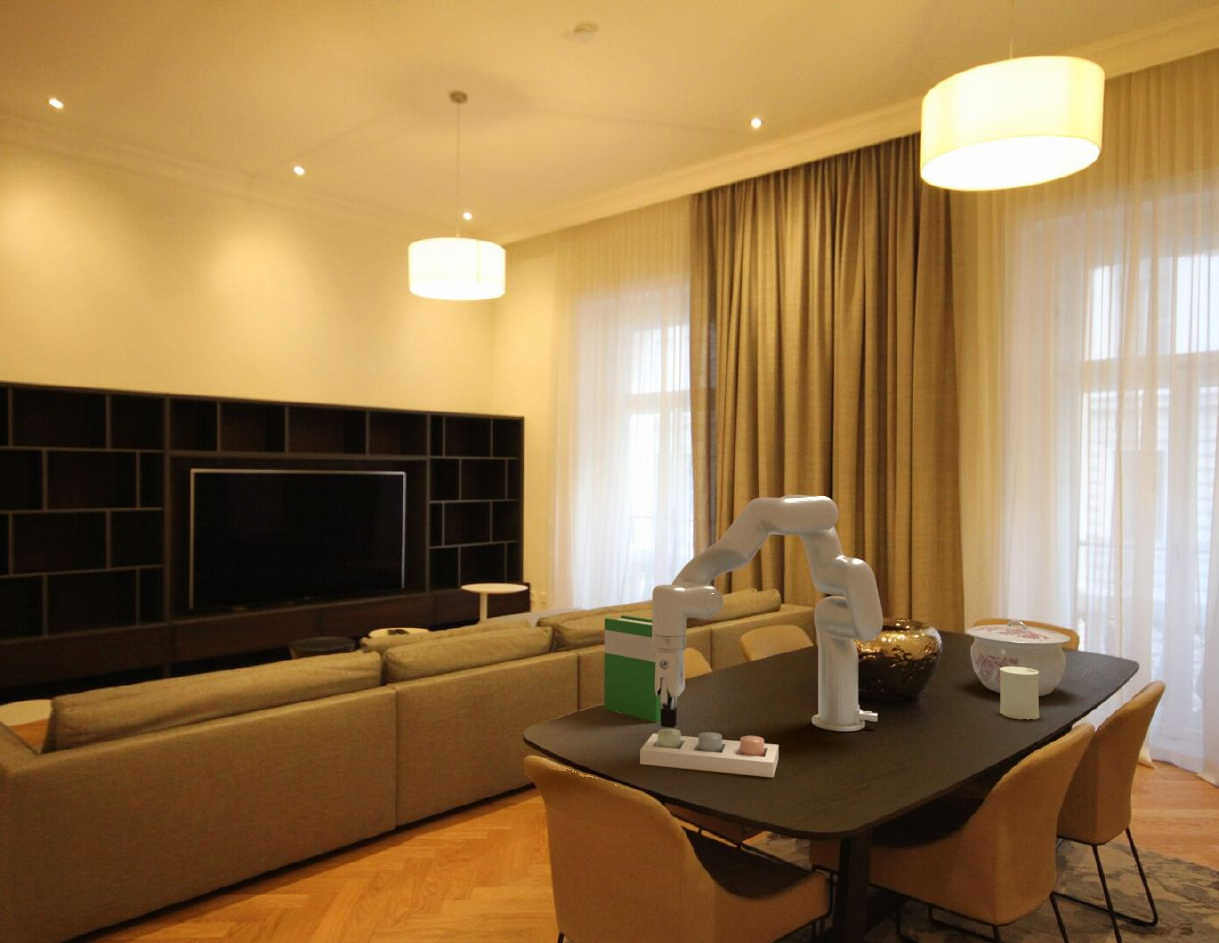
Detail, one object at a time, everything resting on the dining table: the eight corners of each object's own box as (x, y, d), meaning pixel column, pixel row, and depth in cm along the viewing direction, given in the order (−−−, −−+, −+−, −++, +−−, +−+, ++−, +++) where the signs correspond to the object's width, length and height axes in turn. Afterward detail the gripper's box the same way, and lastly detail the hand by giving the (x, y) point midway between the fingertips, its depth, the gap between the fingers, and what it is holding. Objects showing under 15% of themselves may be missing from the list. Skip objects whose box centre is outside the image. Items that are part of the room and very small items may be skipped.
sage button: (682, 747, 182) (682, 729, 182) (678, 754, 177) (678, 736, 177) (660, 745, 183) (660, 727, 183) (655, 752, 179) (655, 734, 179)
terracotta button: (765, 755, 177) (765, 736, 177) (762, 763, 172) (762, 743, 172) (741, 753, 178) (741, 734, 178) (738, 760, 174) (738, 741, 174)
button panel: (778, 758, 180) (778, 744, 180) (773, 777, 168) (773, 762, 168) (653, 746, 187) (653, 733, 188) (640, 763, 176) (640, 749, 176)
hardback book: (604, 709, 218) (604, 618, 219) (622, 703, 224) (623, 615, 224) (656, 722, 207) (656, 626, 207) (674, 716, 212) (674, 622, 212)
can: (1044, 720, 209) (1044, 673, 209) (1005, 718, 211) (1004, 671, 211) (1033, 710, 218) (1033, 665, 218) (995, 708, 220) (995, 663, 220)
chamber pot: (1071, 709, 219) (1070, 631, 219) (959, 696, 233) (959, 622, 233) (1072, 687, 243) (1071, 616, 244) (971, 676, 257) (970, 609, 257)
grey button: (723, 751, 179) (723, 733, 180) (719, 759, 175) (719, 740, 175) (700, 749, 181) (700, 731, 181) (696, 756, 176) (696, 737, 176)
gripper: (679, 649, 172) (678, 737, 172) (692, 637, 187) (691, 718, 186) (644, 647, 175) (643, 734, 174) (660, 635, 189) (659, 715, 189)
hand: (668, 726), depth 180 cm, fingers closed
